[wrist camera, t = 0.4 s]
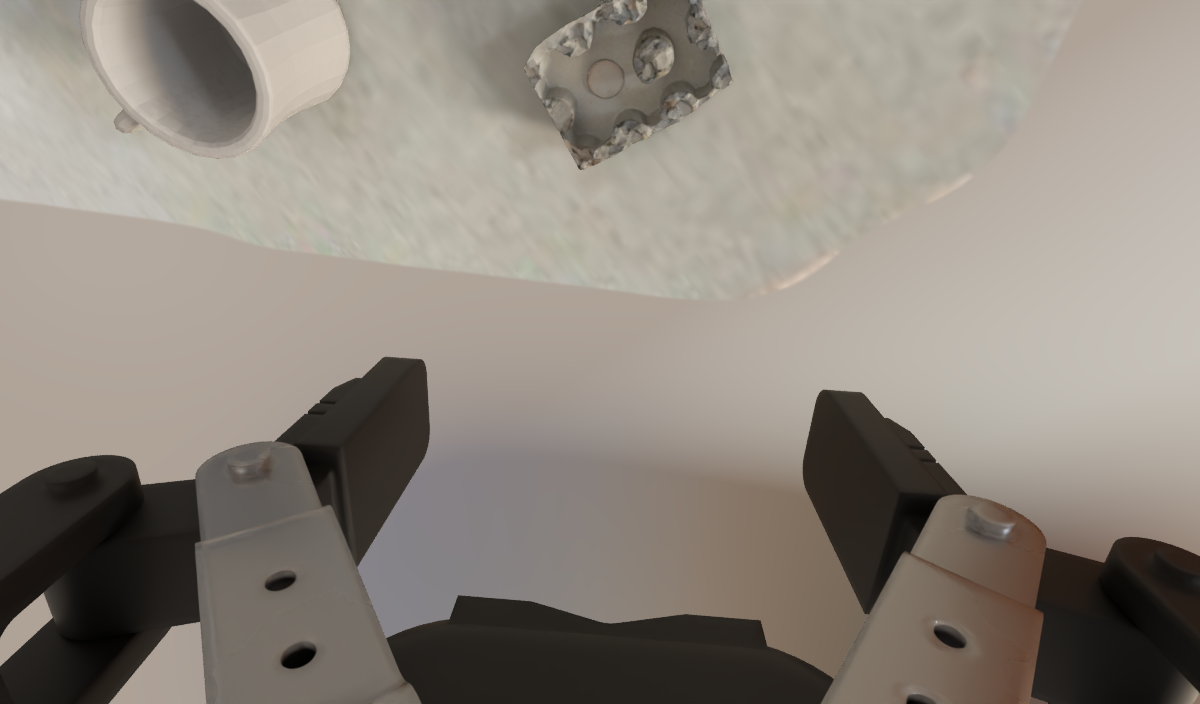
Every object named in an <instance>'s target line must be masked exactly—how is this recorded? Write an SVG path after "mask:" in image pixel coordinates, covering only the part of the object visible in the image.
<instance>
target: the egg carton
mask: <svg viewBox="0 0 1200 704" xmlns="http://www.w3.org/2000/svg"><path fill="white" fill-rule="evenodd" d="M524 70H525V73H526V74H527V76H528V78H529V80H530V82H531V84H532V86H533V87H534V89H535V90H536V92H537V94H538V95H539V97H540V99H541V101H542V103H543V105H544V107H545V108H546V110H547V112H548V113H549V114H550V115H551V117H552V119H553V121H554V123H555V125H556V126H557V128H558V130H559V131H560V134H561V136H562V138H563V140H564V142H565V144H566V146H567V148H568V150H569V151H570V153H571V155H572V156H573V158H574V160H575V162H576V164H577V166H578V168H579V169H580V170H582V169H586V168H588V167H589V166H591V165H596V164H598V163H600V162H601V161H603V160H605V159H608V158H610V157H612V156H614V155H616V154H617V153H619V152H621V151H623V150H624V149H625V148H626V147H627V146H629V145H631V144H634V143H636V142H638V141H641V140H643V139H645V138H648V137H649V136H651V135H652V134H653V133H655V132H658V131H660V130H662V129H664V128H666V127H668V126H670V125H672V124H674V123H676V122H679V121H681V120H682V119H683V118H684V117H686V116H687V115H688V114H690V113H691V112H693V111H694V110H695V109H697V108H698V107H699V106H700V105H701V104H702V103H704V102H705V101H707V100H708V99H709V98H711V97H712V96H713V95H714V94H715V93H716V92H718V91H719V90H720V89H724V88H725V87H727V86H728V85H729V84H731V83H732V82H733V80H732V78H731V75H730V71H729V66H728V64H727V61H726V59H725V57H724V55H723V54H722V53H721V50H720V48H719V45H718V41H717V38H716V35H715V33H714V31H713V30H712V28H711V25H710V22H709V19H708V17H707V15H706V13H705V10H704V8H703V6H702V0H613V1H610V2H608V3H605V4H603V5H601V6H599V7H598V8H596V9H595V10H593V11H591V12H589V13H588V14H586V15H584V16H582V17H580V18H579V19H577V20H575V21H573V22H571V23H569V24H567V25H565V26H564V27H562V28H561V29H559V30H558V31H557V32H555V33H554V34H552V35H551V36H550V37H548V38H547V39H545V40H544V41H543V42H542V43H540V44H539V45H538V46H537V47H536V48H535V49H534V51H533V52H532V54H531V56H530V58H529V60H528V62H527V64H526V65H525V67H524Z"/></svg>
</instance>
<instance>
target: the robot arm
mask: <svg viewBox="0 0 1200 704" xmlns="http://www.w3.org/2000/svg"><path fill="white" fill-rule="evenodd" d="M429 435H430V424H429V406H428V389H427V372H426V366H425V363H424V361H423V360H421V359H409V358H396V357H384V358H382V359H381V360H380V361H379V362H378V363H377V364H376V365H375V366H374V367H373V368H372V369H371V370H370V371H369V372H368V373H367V374H366V375H365V376H364V377H363V378H355V379H352V380H350V381H348V382H346V383H344V384H342V385H339V386H337V387H335V388H333V389H332V390H331V391H330V392H329V393H328V394H327V395H326V396H324V397H323V398H322V399H321V400H320V403H317V404H315V405H314V406H313V407H312V408H311V409H310V410H309V411H308V414H304V415H303V416H302V417H301V418H300V419H299V420H298V421H297V422H296V423H294V424H293V425H292V426H291V427H290V428H289V429H288V430H287V431H286V432H285V433H283V434H282V435H281V436H280V437H279V438H278V439H277V440H276V441H274V442H272V441H270V442H256V443H249V444H244V445H241V446H237V447H234V448H231V449H228V450H225V451H223V452H220V453H219V454H217V455H215V456H213V457H211V458H210V459H208V460H207V461H206V462H204V464H202V465H201V466H200V467H199V469H198V470H197V472H196V476H195V479H193V480H184V481H175V482H166V483H156V484H146V485H141V482H140V479H139V475H138V471H137V468H136V465H135V463H134V462H133V461H132V460H130V459H128V458H126V457H122V456H115V455H100V456H90V457H84V458H79V459H74V460H70V461H66V462H62V463H59V464H56V465H53V466H50V467H48V468H45V469H43V470H40V471H38V472H36V473H34V474H32V475H30V476H28V477H26V478H25V479H23V480H21V481H20V482H19V483H17V484H15V485H13V486H12V487H10V488H9V489H7V490H6V491H4V492H2V493H1V494H0V637H1V635H2V633H3V632H4V630H5V629H6V627H7V626H8V624H9V623H10V622H11V621H12V620H13V619H14V618H15V617H16V616H17V615H18V614H19V613H20V612H21V611H22V610H24V609H25V608H26V607H27V606H28V605H29V604H30V603H32V602H33V601H34V600H35V599H36V598H38V597H39V596H40V595H41V594H42V593H43V592H44V595H45V598H46V600H47V603H48V606H49V608H50V611H51V614H52V616H53V618H52V619H51V620H50V621H49V622H48V623H47V624H46V625H45V626H43V627H42V628H41V629H40V630H39V631H38V632H37V633H36V634H35V635H34V636H33V637H32V638H31V639H29V640H28V641H27V642H26V643H25V644H24V645H23V646H22V647H21V648H20V649H19V650H18V651H17V652H15V653H14V654H13V655H12V656H11V657H10V658H9V659H8V660H7V661H6V662H5V663H4V664H2V665H1V666H0V704H109V703H110V701H111V700H112V699H113V698H114V697H115V695H116V694H117V693H118V692H119V691H120V689H121V688H122V687H123V686H124V684H125V683H126V682H127V681H128V680H129V678H130V677H131V676H132V675H133V673H134V672H135V671H136V670H137V668H139V666H140V665H141V664H142V662H143V661H144V660H145V659H146V658H147V657H148V655H149V654H150V653H151V652H152V651H153V649H154V648H155V647H156V646H157V645H158V643H159V642H160V641H161V639H162V638H163V637H164V636H165V635H166V634H167V632H168V631H169V630H170V628H171V627H172V626H178V625H184V624H190V623H196V622H200V624H201V638H202V651H203V665H204V678H205V692H206V704H1029V703H1030V697H1033V698H1037V699H1039V700H1042V701H1045V702H1048V704H1193V702H1194V701H1195V699H1196V698H1197V696H1198V694H1199V693H1200V556H1198V555H1196V554H1194V553H1191V552H1189V551H1187V550H1184V549H1182V548H1179V547H1176V546H1173V545H1171V544H1167V543H1164V542H1161V541H1156V540H1152V539H1147V538H1139V537H1124V538H1121V539H1118V540H1117V541H1115V543H1114V544H1113V546H1112V548H1111V550H1110V552H1109V554H1108V556H1107V558H1106V561H1105V563H1103V562H1098V561H1095V560H1091V559H1087V558H1083V557H1080V556H1076V555H1072V554H1068V553H1064V552H1060V551H1057V550H1053V549H1049V548H1046V539H1045V536H1044V535H1043V533H1042V532H1041V530H1040V529H1039V528H1038V527H1037V526H1036V525H1034V523H1032V522H1031V521H1030V520H1029V519H1027V518H1026V517H1024V516H1023V515H1021V514H1019V513H1018V512H1016V511H1014V510H1012V509H1010V508H1008V507H1006V506H1004V505H1001V504H999V503H996V502H993V501H991V500H988V499H983V498H980V497H975V496H969V495H967V494H966V493H965V492H964V491H963V490H962V488H960V486H959V485H958V484H957V483H956V482H955V481H954V480H953V479H952V477H951V476H950V475H949V474H948V473H947V472H946V471H945V470H944V469H943V467H942V466H941V465H940V464H939V463H936V460H935V458H933V456H932V455H931V454H930V453H929V452H928V451H927V450H924V448H925V447H924V446H923V445H922V444H921V443H920V442H919V441H918V439H917V438H916V437H915V436H914V435H913V434H912V433H911V432H910V431H908V430H906V429H905V428H903V427H902V426H900V425H899V424H897V423H895V422H894V421H892V420H891V419H889V418H884V417H883V416H882V415H881V414H880V412H879V411H878V410H877V409H876V408H875V407H874V405H873V404H872V403H871V402H870V401H869V399H868V398H867V397H866V396H865V395H864V394H863V393H861V392H847V391H834V390H822V391H821V392H820V393H819V395H818V397H817V400H816V404H815V409H814V413H813V418H812V422H811V427H810V431H809V436H808V440H807V445H806V450H805V454H804V460H803V480H804V485H805V488H806V491H807V493H808V495H809V497H810V499H811V501H812V503H813V505H814V508H815V510H816V512H817V514H818V516H819V518H820V520H821V522H822V524H823V527H824V528H825V531H826V533H827V535H828V537H829V539H830V541H831V543H832V546H833V548H834V550H835V552H836V554H837V556H838V558H839V560H840V562H841V565H842V567H843V569H844V571H845V573H846V575H847V577H848V579H849V581H850V584H851V586H852V588H853V590H854V592H855V594H856V596H857V598H858V601H859V603H860V605H861V607H862V609H863V611H864V613H865V614H869V616H868V617H867V619H866V621H865V623H864V625H863V627H862V629H861V630H860V632H859V634H858V636H857V638H856V640H855V641H854V643H853V645H852V647H851V649H850V651H849V652H848V654H847V656H846V658H845V660H844V662H843V664H842V665H841V667H840V669H839V671H838V673H837V675H836V676H835V678H834V679H833V678H832V677H830V676H829V675H827V674H826V673H824V672H822V671H821V670H819V669H817V668H816V667H814V666H812V665H811V664H809V663H807V662H805V661H803V660H801V659H799V658H797V657H795V656H792V655H790V654H787V653H785V652H782V651H780V650H777V649H774V648H771V647H768V646H767V644H766V640H765V636H764V632H763V628H762V624H761V621H759V620H747V619H735V618H724V617H711V616H699V615H688V614H685V615H676V616H669V617H661V618H653V619H646V620H638V621H630V622H622V623H613V624H609V623H602V622H598V621H595V620H591V619H588V618H585V617H581V616H578V615H574V614H571V613H568V612H565V611H562V610H558V609H555V608H552V607H548V606H545V605H542V604H538V603H535V602H531V601H519V600H507V599H494V598H483V597H471V596H458V598H457V600H456V603H455V606H454V608H453V611H452V614H451V617H450V619H449V620H442V621H436V622H432V623H428V624H423V625H420V626H416V627H413V628H410V629H407V630H405V631H402V632H399V633H397V634H395V635H393V636H390V637H388V638H386V637H385V635H384V632H383V630H382V627H381V625H380V622H379V620H378V618H377V615H376V613H375V610H374V608H373V606H372V603H371V601H370V598H369V596H368V593H367V591H366V588H365V586H364V584H363V581H362V579H361V576H360V574H359V572H358V569H357V566H358V565H359V563H360V562H361V560H362V558H363V557H364V555H365V553H366V552H367V550H368V549H369V547H370V545H371V544H372V542H373V540H374V539H375V537H376V536H377V533H378V532H379V531H380V529H381V527H382V526H383V524H384V522H385V521H386V519H387V518H388V516H389V514H390V513H391V511H392V509H393V508H394V506H395V504H396V503H397V501H398V500H399V498H400V496H401V495H402V493H403V491H404V490H405V488H406V487H407V485H408V483H409V482H410V480H411V478H412V476H413V475H414V474H415V472H416V470H417V469H418V467H419V465H420V464H421V462H422V460H423V459H424V457H425V454H426V451H427V447H428V443H429Z"/></svg>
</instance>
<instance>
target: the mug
mask: <svg viewBox="0 0 1200 704" xmlns="http://www.w3.org/2000/svg"><path fill="white" fill-rule="evenodd" d="M80 23H81V30H82V36H83V43H84V45H85V48H86V50H87V53H88V55H89V58H90V60H91V63H92V65H93V68H94V69H95V71H96V72H97V74H98V76H99V77H100V79H101V80H102V82H103V84H104V85H105V87H106V88H107V90H108V92H109V93H110V94H111V95H112V96H113V97H114V99H115V100H116V101H117V102H118V103H119V104H120V106H121V107H122V108H123V110H122V111H121V112H120V113H119V114H118V115H117V117H116V118H115V120H114V124H115V127H116V129H117V130H119V131H121V132H123V133H134V132H136V131H138V130H140V129H142V128H143V127H144V128H145V129H146V130H147V131H149V132H150V133H152V134H153V135H155V136H157V137H158V138H160V139H162V140H163V141H165V142H166V143H168V144H170V145H171V146H174V147H176V148H179V149H181V150H184V151H186V152H189V153H191V154H194V155H198V156H204V157H210V158H216V159H219V158H230V157H238V156H240V155H242V154H244V153H246V152H249V151H251V150H253V149H255V148H256V147H257V146H258V145H259V144H260V143H261V142H262V141H263V139H264V138H265V137H266V136H267V135H268V134H269V133H270V132H271V131H272V130H273V129H274V128H275V127H276V126H277V125H278V124H279V123H281V122H283V121H284V120H286V119H287V118H289V117H291V116H292V115H294V114H295V113H297V112H300V111H303V110H306V109H308V108H310V107H312V106H314V105H317V104H319V103H321V102H323V101H325V100H327V99H329V98H330V97H331V96H332V94H333V93H334V92H335V91H336V90H337V89H338V88H339V87H340V86H341V84H342V82H343V79H344V77H345V75H346V73H347V71H348V66H349V58H350V44H349V36H348V29H347V26H346V24H345V21H344V18H343V15H342V12H341V10H340V7H339V5H338V4H337V2H336V0H82V3H81V10H80Z"/></svg>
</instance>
